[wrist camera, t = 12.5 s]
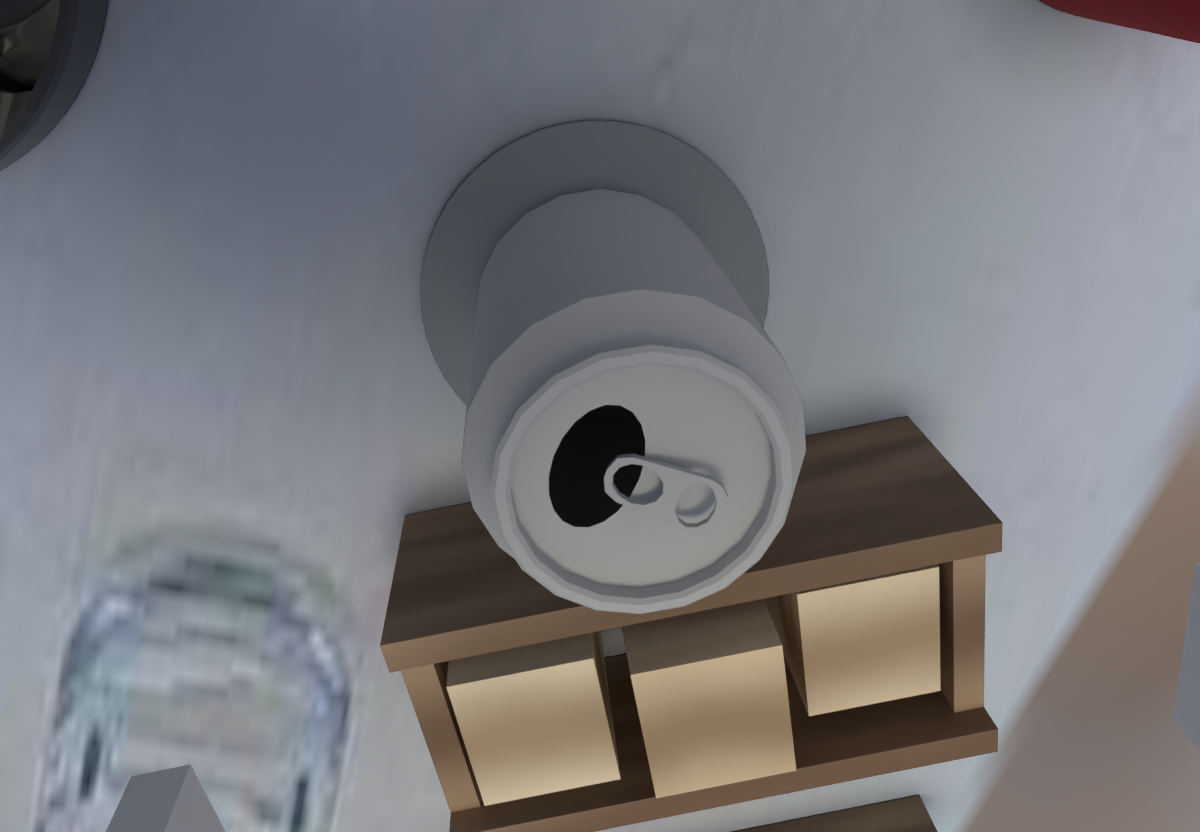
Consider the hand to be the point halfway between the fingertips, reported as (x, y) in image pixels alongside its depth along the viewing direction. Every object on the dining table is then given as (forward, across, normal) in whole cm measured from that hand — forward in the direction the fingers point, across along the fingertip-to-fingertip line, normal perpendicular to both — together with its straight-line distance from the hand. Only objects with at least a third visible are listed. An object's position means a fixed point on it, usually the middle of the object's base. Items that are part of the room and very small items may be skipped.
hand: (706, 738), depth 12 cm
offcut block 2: (+19, +1, -12) cm, 22 cm away
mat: (+19, 0, 0) cm, 19 cm away
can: (+19, 0, 0) cm, 19 cm away
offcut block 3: (+19, +6, -12) cm, 23 cm away
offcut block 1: (+19, -4, -12) cm, 23 cm away
